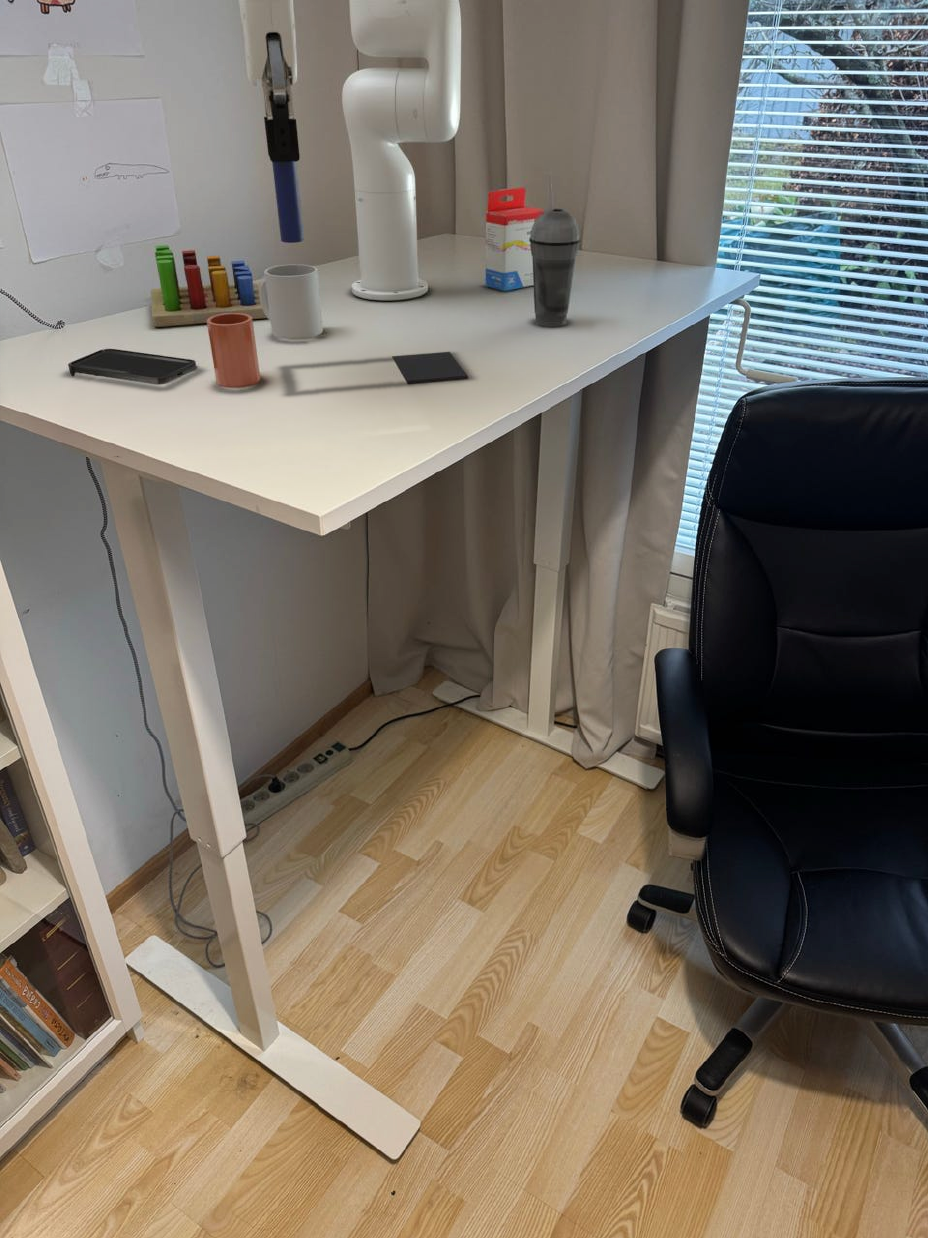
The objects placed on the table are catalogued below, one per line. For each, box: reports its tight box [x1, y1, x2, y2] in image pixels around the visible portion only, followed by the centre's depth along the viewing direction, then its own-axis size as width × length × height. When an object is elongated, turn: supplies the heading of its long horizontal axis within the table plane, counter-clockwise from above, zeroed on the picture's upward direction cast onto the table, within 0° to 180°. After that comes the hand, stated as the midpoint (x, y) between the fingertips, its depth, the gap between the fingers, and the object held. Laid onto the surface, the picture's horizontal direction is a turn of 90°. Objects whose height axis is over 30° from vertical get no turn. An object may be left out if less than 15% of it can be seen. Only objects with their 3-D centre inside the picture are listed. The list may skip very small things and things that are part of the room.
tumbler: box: [206, 313, 261, 389], centre depth 108 cm, size 5×5×8 cm
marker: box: [265, 105, 305, 244], centre depth 99 cm, size 3×3×14 cm
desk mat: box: [391, 351, 469, 385], centre depth 114 cm, size 10×22×1 cm, turn 104°
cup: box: [259, 263, 324, 340], centre depth 126 cm, size 7×10×9 cm
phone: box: [67, 348, 197, 385], centre depth 114 cm, size 8×1×15 cm
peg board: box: [150, 244, 268, 328], centre depth 137 cm, size 18×17×9 cm
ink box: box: [485, 186, 544, 292], centre depth 147 cm, size 8×5×15 cm, turn 129°
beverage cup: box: [529, 172, 581, 328], centre depth 127 cm, size 7×7×20 cm
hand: (283, 157), depth 98 cm, fingers closed on marker, 2 cm apart
